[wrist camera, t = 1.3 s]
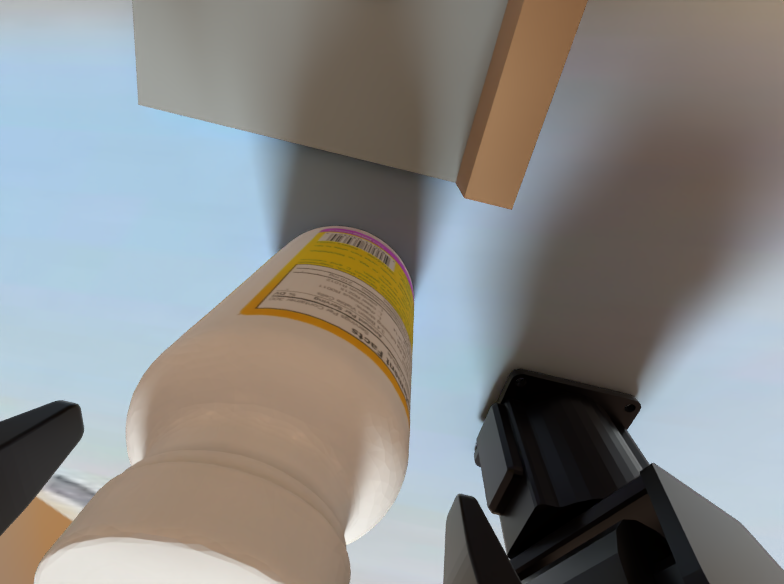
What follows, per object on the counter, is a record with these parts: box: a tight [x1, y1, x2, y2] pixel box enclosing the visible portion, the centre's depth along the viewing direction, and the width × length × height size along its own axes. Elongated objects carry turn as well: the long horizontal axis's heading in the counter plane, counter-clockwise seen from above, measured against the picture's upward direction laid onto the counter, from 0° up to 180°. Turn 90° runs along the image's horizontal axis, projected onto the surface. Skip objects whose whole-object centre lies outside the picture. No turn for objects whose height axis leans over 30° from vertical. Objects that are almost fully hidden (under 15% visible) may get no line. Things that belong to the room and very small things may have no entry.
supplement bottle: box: [34, 226, 414, 584], centre depth 11 cm, size 7×7×13 cm
